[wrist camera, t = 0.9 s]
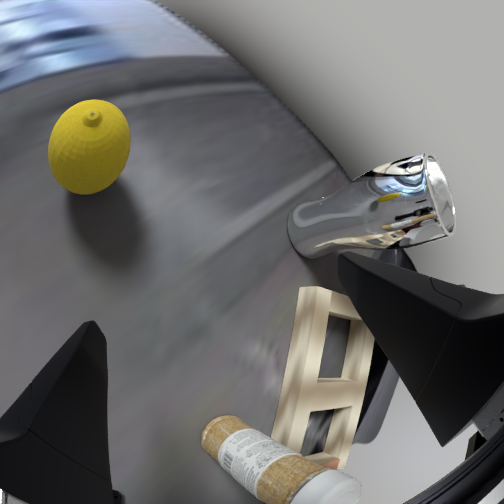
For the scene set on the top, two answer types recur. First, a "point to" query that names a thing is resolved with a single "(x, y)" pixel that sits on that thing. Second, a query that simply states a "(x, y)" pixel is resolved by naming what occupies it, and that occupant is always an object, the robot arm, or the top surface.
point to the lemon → (89, 146)
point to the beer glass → (378, 210)
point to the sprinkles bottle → (274, 467)
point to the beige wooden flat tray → (323, 389)
